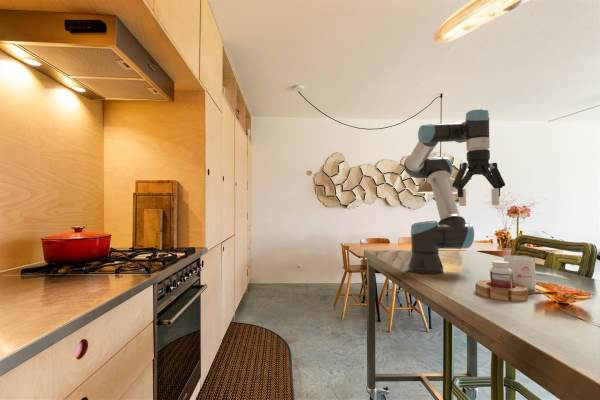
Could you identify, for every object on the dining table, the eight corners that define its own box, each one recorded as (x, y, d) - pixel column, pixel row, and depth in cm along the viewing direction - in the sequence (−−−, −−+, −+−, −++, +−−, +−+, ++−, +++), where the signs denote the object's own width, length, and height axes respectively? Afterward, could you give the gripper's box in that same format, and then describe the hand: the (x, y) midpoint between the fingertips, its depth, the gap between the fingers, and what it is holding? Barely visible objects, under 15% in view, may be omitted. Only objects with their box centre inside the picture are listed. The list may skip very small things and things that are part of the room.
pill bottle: (497, 291, 99) (496, 259, 99) (517, 295, 93) (516, 262, 94) (487, 293, 96) (485, 261, 97) (506, 298, 91) (505, 263, 91)
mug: (526, 285, 106) (525, 255, 106) (542, 292, 97) (540, 259, 97) (491, 284, 108) (489, 255, 108) (503, 290, 99) (502, 259, 99)
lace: (522, 293, 95) (522, 292, 95) (554, 292, 97) (554, 290, 97) (524, 294, 95) (524, 292, 95) (557, 292, 96) (556, 291, 96)
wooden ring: (467, 289, 101) (466, 280, 102) (502, 287, 103) (502, 279, 103) (498, 301, 87) (498, 291, 88) (539, 299, 89) (538, 290, 89)
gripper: (453, 148, 103) (455, 206, 103) (515, 148, 106) (517, 205, 106) (441, 152, 111) (442, 206, 110) (499, 152, 113) (501, 204, 113)
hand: (479, 205), depth 108 cm, fingers open, 13 cm apart
